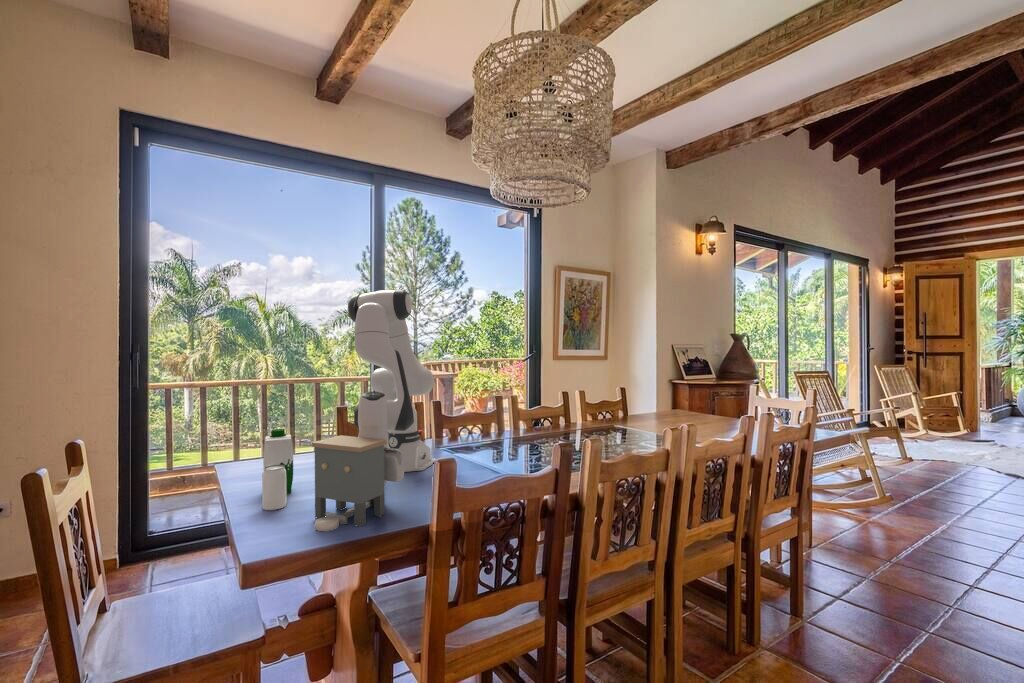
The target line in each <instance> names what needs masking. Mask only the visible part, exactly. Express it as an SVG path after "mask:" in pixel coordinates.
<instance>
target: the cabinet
mask: <svg viewBox="0 0 1024 683" xmlns="http://www.w3.org/2000/svg"><path fill="white" fill-rule="evenodd" d="M385 444H387V440H384V439H373V438H363V437H358V436H351V435H343V434H342V435H340V434H339V435H337V436H332V437H328V438H324V439H320V440H316V441H313V442H311V447H312V448H314V518H315V517H317V518H322V517H325V516H326V512H327V500H332V501H333V500H334V501H335V509H336V508H337V509H336V510H339V509H342V510H344V509H343V508H345V507H346V508H347V503H351V504H353V506H354V509H355V515H354V526H355V525H357V526H356V527H360V526H361V527H363V526H364V524H365V525H366V519H367V518H366V517H367V516H366V509H365V502H366V501H369V500H371V499H373V498H374V506H373V509H374V510H373V511H374V512H373V515H376V516H375V517H379V516H381V515H382V516H384V515H385V506H386V504H385V486H384V445H385ZM346 508H345V509H346ZM383 514H384V515H383ZM382 516H381V517H382ZM317 518H316V519H317ZM362 525H363V526H362Z"/></svg>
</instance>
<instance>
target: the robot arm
mask: <svg viewBox="0 0 1024 683" xmlns="http://www.w3.org/2000/svg"><path fill="white" fill-rule="evenodd" d="M412 307H413V303H412V299H411V296H410V294H409V292H407V291H406V290H404V289H395V290H394V289H393V290H392V289H390V290H389V289H387V290H385V289H384V290H376V291H372V292H366V293H358V294H354V295H352V296H351V298H350V299H349V301H348V303H347V311H348V316H349V318H350V320H351V321H352V322H353V323H354V331H353V332H354V334H353V335H354V336H353V337H354V339H353V340H354V348H355V349H354V350H355V353H356V354H357V355H358V356H359V358H360V359H362V360H363V361H365V362H367V363H369V364H371V365H374V366H377V367H379V368H376V369H375V370H374V371H373V372H372V374H371V376H370V377H371V378H370V384H371V388H372V390H373V391H367V392H364V393H362V394H360V396H359V402H358V403H357V405H356V406H355V407H354V408H353V415H354V416H353V417H354V420H353V422H354V423H353V426H354V427H355V428H356V429H358V436H357V437H363V438H373V439H384V440H387V444H385V445H384V487H385V486H386V484H387V483H388V482H394V483H397V482H400V481H402V480H403V479H404V478H405V473H408V472H417V471H418V472H419V471H420V472H421V471H425V470H426V469H427V468H429V467H430V466H432V465H434V464H433V462H434V461H435V460H436V459H437V458H435V457H432V455H431V454H432V453H431V447H429V445H427V444H426V443H425V442H424V441H422V439H421V436H424V433H425V431H424V429H418V412H417V409H416V408H415V407H414V406H413V404H412V400H411V397H410V396H413V397H417V396H423V395H427V394H429V393H431V391H432V390H433V387H434V384H435V379H434V374H433V373H432V371H431V370H430V369H429V368H427V367H426V366H424V365H423V364H422V363H421V362H420V361H419V359H418V358H417V356H416V355H415V352H414V351H413V348H412V344H411V339H410V335H409V329H408V325H407V322H406V319H407V318H409V317H410V315H411V314H412V309H413V308H412Z"/></svg>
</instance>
